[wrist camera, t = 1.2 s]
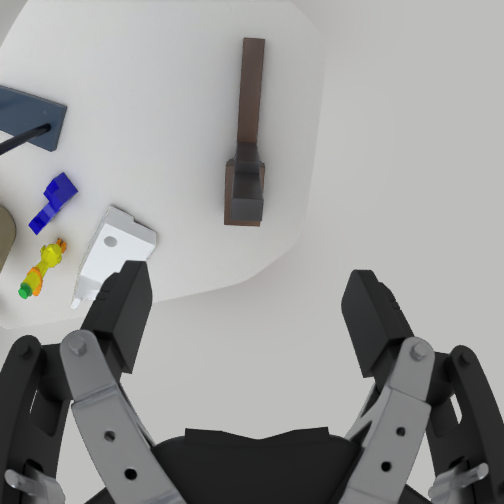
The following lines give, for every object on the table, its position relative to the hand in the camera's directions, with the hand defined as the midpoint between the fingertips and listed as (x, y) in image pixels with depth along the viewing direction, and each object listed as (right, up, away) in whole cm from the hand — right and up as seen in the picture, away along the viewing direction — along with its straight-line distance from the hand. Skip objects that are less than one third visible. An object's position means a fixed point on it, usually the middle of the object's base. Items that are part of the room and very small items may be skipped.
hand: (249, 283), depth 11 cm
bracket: (-19, +1, +26) cm, 32 cm away
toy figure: (-29, +2, +25) cm, 39 cm away
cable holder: (-27, +9, +21) cm, 35 cm away
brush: (0, +14, +18) cm, 23 cm away
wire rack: (-30, +19, +13) cm, 38 cm away
